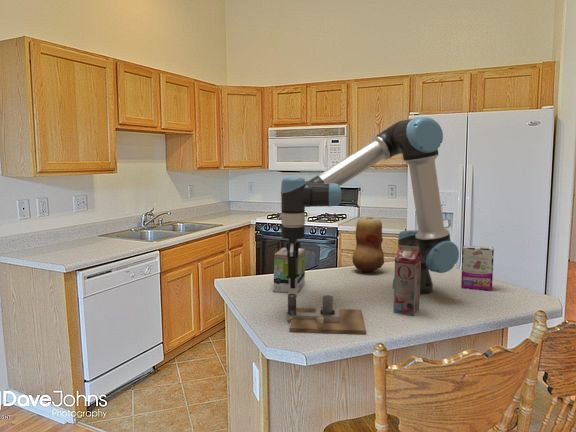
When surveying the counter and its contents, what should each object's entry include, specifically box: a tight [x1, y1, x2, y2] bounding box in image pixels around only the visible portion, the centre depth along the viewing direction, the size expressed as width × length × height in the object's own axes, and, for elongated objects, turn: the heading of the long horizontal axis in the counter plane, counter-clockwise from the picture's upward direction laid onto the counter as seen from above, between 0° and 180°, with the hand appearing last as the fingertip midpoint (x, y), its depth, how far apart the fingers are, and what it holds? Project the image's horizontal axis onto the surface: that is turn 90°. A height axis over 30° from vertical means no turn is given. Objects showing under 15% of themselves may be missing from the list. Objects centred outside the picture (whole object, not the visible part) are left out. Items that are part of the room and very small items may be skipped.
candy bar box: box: [460, 245, 495, 292], centre depth 169 cm, size 11×5×16 cm, turn 68°
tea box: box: [273, 247, 306, 294], centre depth 171 cm, size 15×10×15 cm
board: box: [288, 294, 367, 335], centre depth 133 cm, size 22×18×8 cm
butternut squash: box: [352, 216, 385, 273], centre depth 194 cm, size 14×13×25 cm
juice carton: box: [392, 245, 421, 317], centre depth 142 cm, size 7×7×22 cm
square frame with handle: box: [286, 293, 340, 323], centre depth 134 cm, size 16×7×7 cm, turn 85°
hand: (293, 296), depth 142 cm, fingers closed
